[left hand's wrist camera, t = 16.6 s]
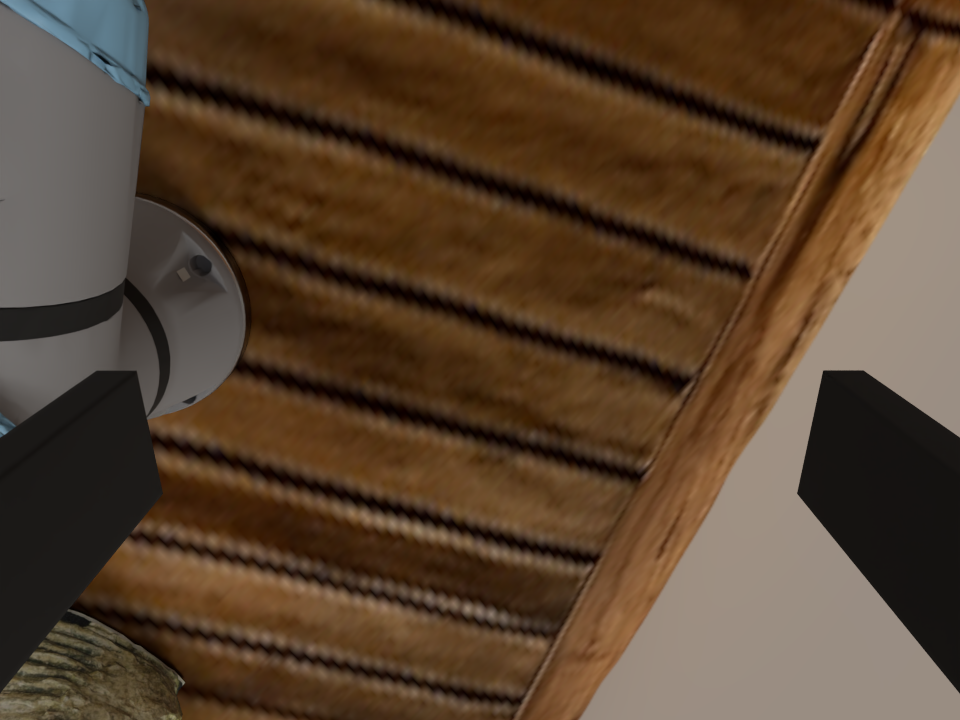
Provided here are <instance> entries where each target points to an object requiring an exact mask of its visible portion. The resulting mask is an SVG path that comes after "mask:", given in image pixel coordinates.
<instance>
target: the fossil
mask: <svg viewBox="0 0 960 720" xmlns="http://www.w3.org/2000/svg"><path fill="white" fill-rule="evenodd" d="M184 684H185V682H184V681H183V680H182V678H181V677H180V676H179V675H178V674H177V673H176V672H175V671H174V670H172V669H171V668H169V667H167V666H166V665H165V664H164V663H163V662H161V661H160V660H159V659H158V658H156V657H155V656H153V655H152V654H150V653H149V652H147V651H146V650H145V649H144V648H142V647H141V646H139V645H136V644H134V643H132V642H131V641H130V640H129V639H127V638H126V637H125V636H124V635H122V634H120V633H119V632H117V631H115V630H113V629H111V628H110V627H108V626H106V625H104V624H102V623H100V622H99V621H97V620H95V619H93V618H90V617H88V616H86V615H84V614H82V613H79V612H76V611H73V610H69V609H68V611H67V612H66V613H65V614H64V616H63V617H62V618H61V619H60V621H59V622H58V623H57V624H56V625H55V627H54V628H53V629H52V630H51V632H50V633H49V634H48V635H47V636H46V638H45V639H44V640H43V641H42V643H41V644H40V645H39V646H38V648H37V649H36V650H35V651H34V652H33V654H32V655H31V656H30V657H29V659H28V660H27V661H26V662H25V664H24V665H23V666H22V667H21V668H20V670H19V671H18V672H17V673H16V675H15V676H14V677H13V678H12V679H11V681H10V682H9V683H8V684H7V686H6V687H5V688H4V689H3V691H2V692H1V693H0V720H182V711H181V708H180V704H179V701H178V698H177V693H178V691H179V689H180V688H181V687H182V686H183V685H184Z"/></svg>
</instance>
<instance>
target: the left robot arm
mask: <svg viewBox="0 0 960 720" xmlns="http://www.w3.org/2000/svg"><path fill="white" fill-rule="evenodd" d="M148 27H149V19H148V12H147V8H146V5H145V2H144V0H0V693H1V692H2V691H3V689H4V688H5V687H6V686H7V684H8V683H9V682H10V681H11V679H12V678H13V677H14V676H15V675H16V673H17V672H18V671H19V670H20V668H21V667H22V666H23V665H24V664H25V662H26V661H27V660H28V659H29V657H30V656H31V655H32V654H33V652H34V651H35V650H36V649H37V648H38V646H39V645H40V644H41V643H42V641H43V640H44V639H45V638H46V636H47V635H48V634H49V633H50V632H51V630H52V629H53V628H54V627H55V625H56V624H57V623H58V622H59V621H60V619H61V618H62V617H63V616H64V614H65V613H66V612H67V611H68V609H69V608H70V607H71V606H72V605H73V603H74V602H75V601H76V600H77V598H78V597H79V596H80V595H81V593H82V592H83V591H84V590H85V589H86V587H87V586H88V585H89V584H90V582H91V581H92V580H93V579H94V578H95V576H96V575H97V574H98V573H99V571H100V570H101V569H102V568H103V566H104V565H105V564H106V563H107V562H108V560H109V559H110V558H111V557H112V555H113V554H114V553H115V552H116V550H117V549H118V548H119V547H120V546H121V544H122V543H123V542H124V541H125V539H126V538H127V537H128V536H129V535H130V533H131V532H132V531H133V530H134V528H135V527H136V526H137V525H138V523H139V522H140V521H141V520H142V519H143V517H144V516H145V515H146V514H147V512H148V511H149V510H150V509H151V508H152V506H153V505H154V504H155V503H156V501H157V500H158V499H159V498H160V496H161V495H162V494H163V492H162V488H161V483H160V478H159V473H158V469H157V464H156V459H155V455H154V450H153V445H152V440H151V436H150V431H149V426H148V422H147V420H148V419H151V418H155V417H158V416H161V415H163V414H168V413H172V412H175V411H178V410H181V409H184V408H187V407H189V406H191V405H193V404H195V403H197V402H198V401H200V400H202V399H204V398H205V397H207V396H208V395H210V394H211V393H212V392H214V391H215V390H216V389H217V388H218V387H219V386H220V385H221V384H222V383H223V382H224V381H225V380H226V379H227V378H228V377H229V376H230V374H231V373H232V372H233V371H234V369H235V368H236V367H237V365H238V364H239V362H240V360H241V359H242V356H243V354H244V352H245V350H246V346H247V343H248V340H249V335H250V328H251V307H250V300H249V295H248V291H247V288H246V284H245V281H244V279H243V276H242V274H241V272H240V269H239V268H238V266H237V264H236V262H235V260H234V258H233V257H232V255H231V254H230V252H229V251H228V249H227V248H226V247H225V246H224V244H223V243H222V242H221V241H220V239H219V238H218V237H217V236H216V235H215V234H214V233H213V232H212V231H211V230H210V229H209V228H208V227H206V226H205V225H204V224H203V223H202V222H201V221H199V220H198V219H197V218H195V217H194V216H193V215H191V214H189V213H188V212H186V211H185V210H183V209H181V208H179V207H177V206H175V205H174V204H172V203H169V202H167V201H164V200H162V199H159V198H156V197H153V196H150V195H146V194H141V193H136V185H137V175H138V166H139V157H140V148H141V139H142V130H143V121H144V111H145V106H149V105H150V94H149V91H148V90H147V89H146V87H145V86H146V66H147V47H148ZM797 494H798V495H799V496H800V498H801V499H802V500H803V501H804V503H805V504H806V505H807V506H808V508H809V509H810V510H811V511H812V512H813V514H814V515H815V516H816V517H817V519H818V520H819V521H820V522H821V523H822V525H823V526H824V527H825V528H826V530H827V531H828V532H829V533H830V535H831V536H832V537H833V538H834V539H835V541H836V542H837V543H838V544H839V546H840V547H841V548H842V549H843V550H844V552H845V553H846V554H847V555H848V557H849V558H850V559H851V560H852V562H853V563H854V564H855V565H856V566H857V568H858V569H859V570H860V571H861V573H862V574H863V575H864V576H865V577H866V579H867V580H868V581H869V582H870V584H871V585H872V586H873V587H874V589H875V590H876V591H877V592H878V593H879V595H880V596H881V597H882V598H883V600H884V601H885V602H886V603H887V605H888V606H889V607H890V608H891V609H892V611H893V612H894V613H895V614H896V616H897V617H898V618H899V619H900V621H901V622H902V623H903V624H904V625H905V627H906V628H907V629H908V630H909V632H910V633H911V634H912V635H913V636H914V638H915V639H916V640H917V641H918V643H919V644H920V645H921V646H922V648H923V649H924V650H925V651H926V652H927V654H928V655H929V656H930V657H931V659H932V660H933V661H934V662H935V664H936V665H937V666H938V667H939V668H940V670H941V671H942V672H943V673H944V675H945V676H946V677H947V678H948V679H949V681H950V682H951V683H952V684H953V686H954V687H955V688H956V689H957V691H958V692H959V693H960V437H958V436H957V435H955V434H954V433H952V432H951V431H950V430H948V429H947V428H945V427H944V426H942V425H941V424H940V423H938V422H937V421H935V420H934V419H932V418H931V417H929V416H928V415H927V414H925V413H924V412H922V411H921V410H919V409H918V408H916V407H915V406H914V405H912V404H911V403H909V402H908V401H906V400H905V399H904V398H902V397H901V396H899V395H898V394H896V393H895V392H893V391H892V390H891V389H889V388H888V387H886V386H885V385H883V384H882V383H881V382H879V381H878V380H876V379H875V378H873V377H872V376H870V375H869V374H867V373H866V372H865V371H823V374H822V379H821V384H820V388H819V393H818V398H817V403H816V407H815V412H814V417H813V422H812V426H811V431H810V436H809V441H808V445H807V450H806V455H805V459H804V464H803V469H802V473H801V478H800V483H799V488H798V492H797Z"/></svg>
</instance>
